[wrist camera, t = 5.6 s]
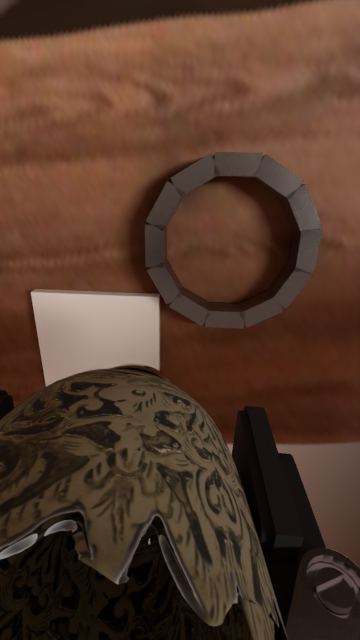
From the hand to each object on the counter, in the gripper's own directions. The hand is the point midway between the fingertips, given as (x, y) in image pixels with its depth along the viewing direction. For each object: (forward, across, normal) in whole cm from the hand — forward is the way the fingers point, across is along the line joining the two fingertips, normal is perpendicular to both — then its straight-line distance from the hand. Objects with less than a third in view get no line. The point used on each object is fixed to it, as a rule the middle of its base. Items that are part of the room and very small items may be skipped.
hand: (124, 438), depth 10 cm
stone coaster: (+16, +5, +6) cm, 18 cm away
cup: (+2, 0, 0) cm, 2 cm away
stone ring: (+16, -4, -4) cm, 17 cm away
